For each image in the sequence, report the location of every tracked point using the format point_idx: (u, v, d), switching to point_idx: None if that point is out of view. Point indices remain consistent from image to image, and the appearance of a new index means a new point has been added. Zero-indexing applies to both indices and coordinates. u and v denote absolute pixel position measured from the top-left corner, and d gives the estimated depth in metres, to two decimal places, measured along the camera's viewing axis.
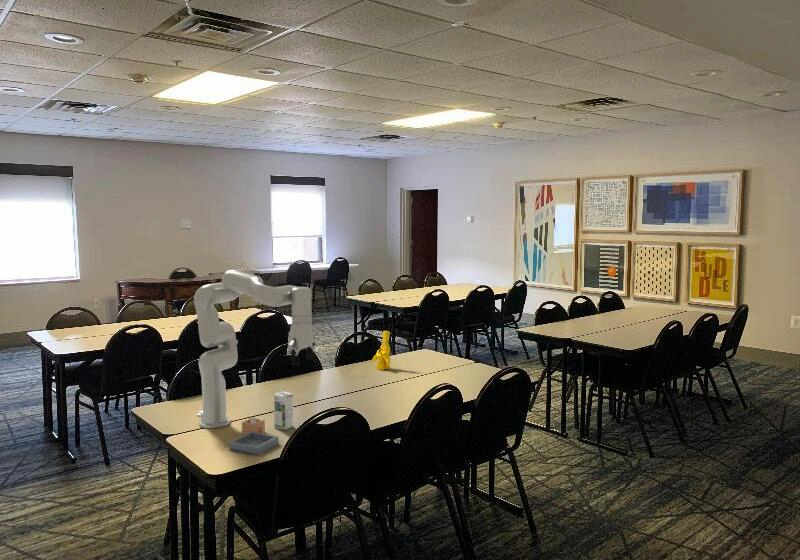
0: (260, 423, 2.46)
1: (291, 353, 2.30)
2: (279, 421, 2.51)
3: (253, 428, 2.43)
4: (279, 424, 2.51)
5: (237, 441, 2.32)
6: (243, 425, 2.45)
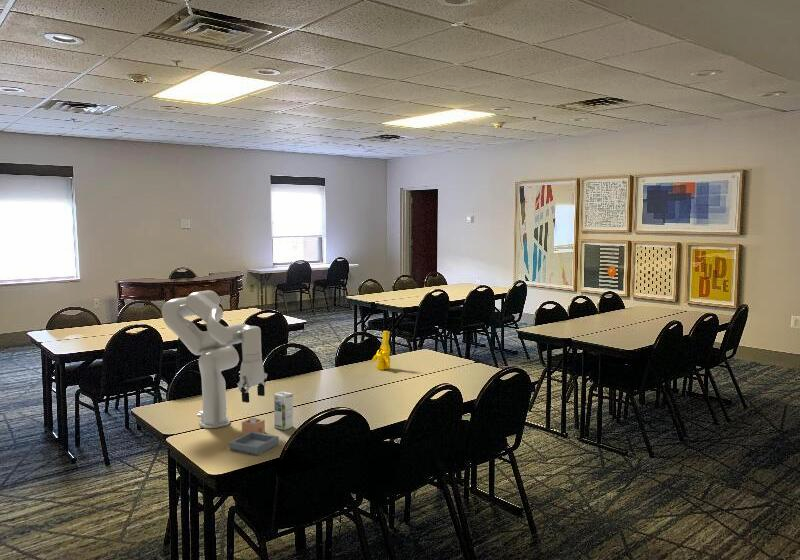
0: (260, 423, 2.46)
1: (241, 391, 2.39)
2: (279, 421, 2.51)
3: (253, 428, 2.43)
4: (279, 424, 2.51)
5: (237, 441, 2.32)
6: (243, 425, 2.45)
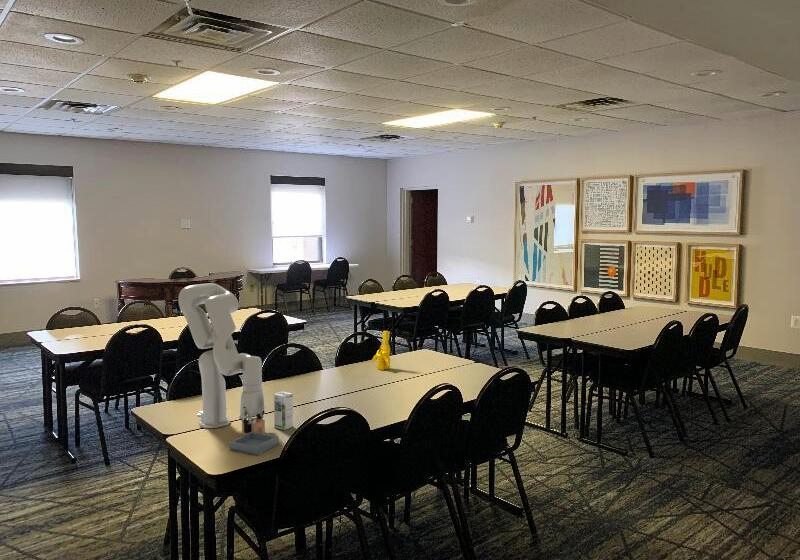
0: (260, 423, 2.46)
1: (243, 422, 2.42)
2: (279, 421, 2.51)
3: (253, 428, 2.43)
4: (279, 424, 2.51)
5: (237, 441, 2.32)
6: (243, 425, 2.45)
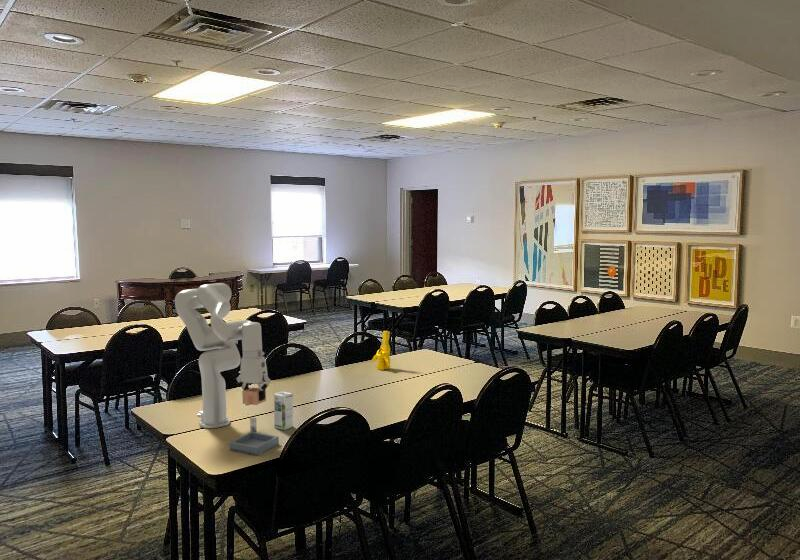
0: (250, 393, 2.35)
1: None
2: (279, 421, 2.51)
3: None
4: (279, 424, 2.51)
5: (237, 441, 2.32)
6: None
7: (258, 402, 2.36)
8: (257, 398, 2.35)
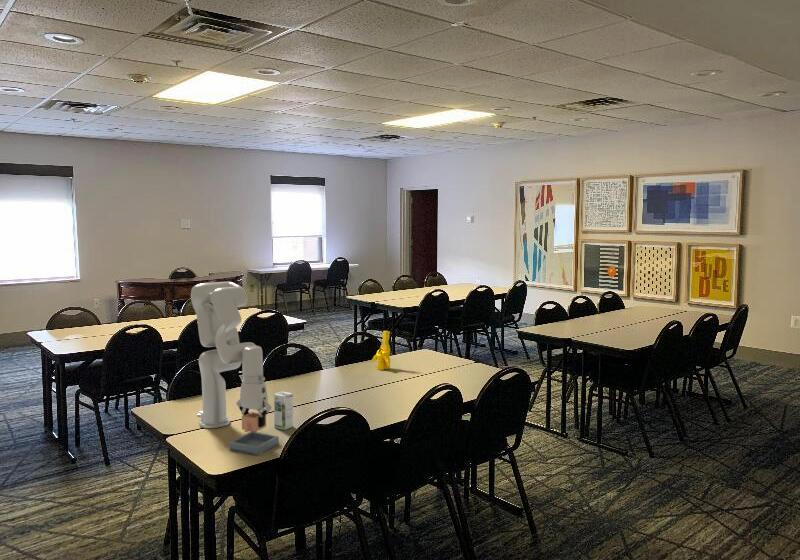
0: (249, 419, 2.28)
1: None
2: (279, 421, 2.51)
3: None
4: (279, 424, 2.51)
5: (237, 441, 2.32)
6: None
7: (258, 428, 2.28)
8: (257, 424, 2.28)
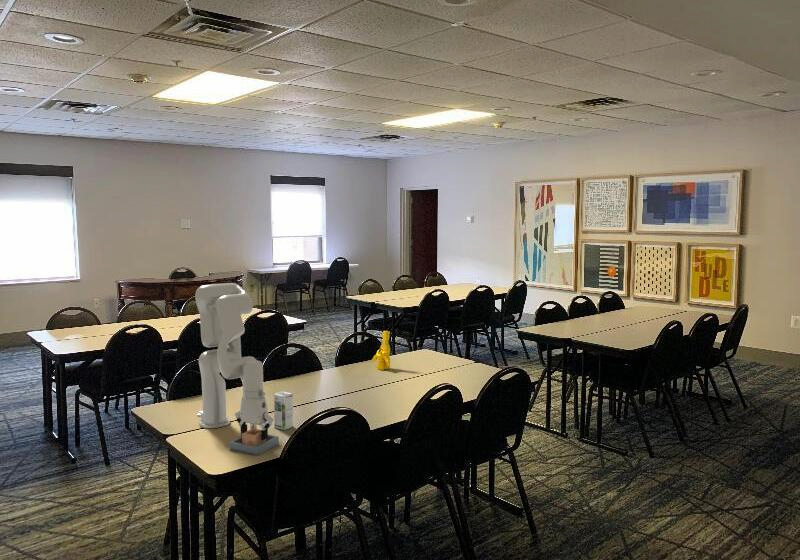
0: (249, 436, 2.29)
1: None
2: (279, 421, 2.51)
3: None
4: (279, 424, 2.51)
5: (237, 441, 2.32)
6: None
7: None
8: (257, 442, 2.28)
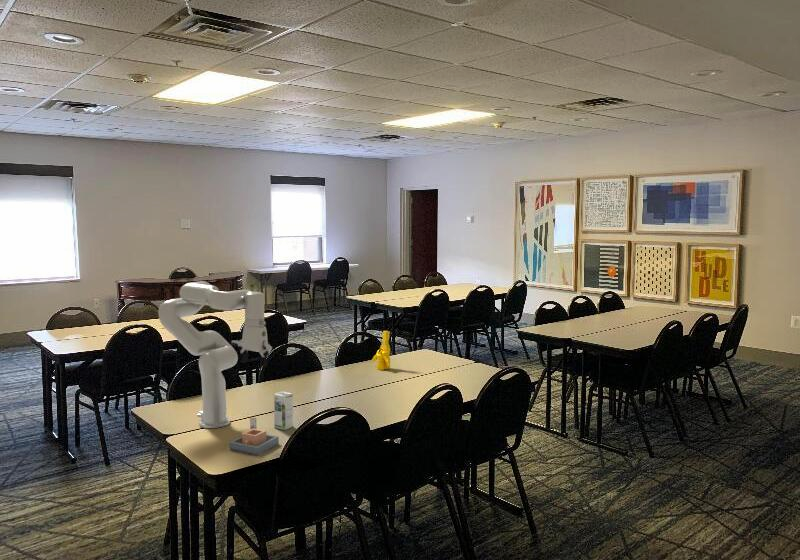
0: (249, 436, 2.29)
1: None
2: (279, 421, 2.51)
3: None
4: (279, 424, 2.51)
5: (237, 441, 2.32)
6: None
7: None
8: (257, 442, 2.28)
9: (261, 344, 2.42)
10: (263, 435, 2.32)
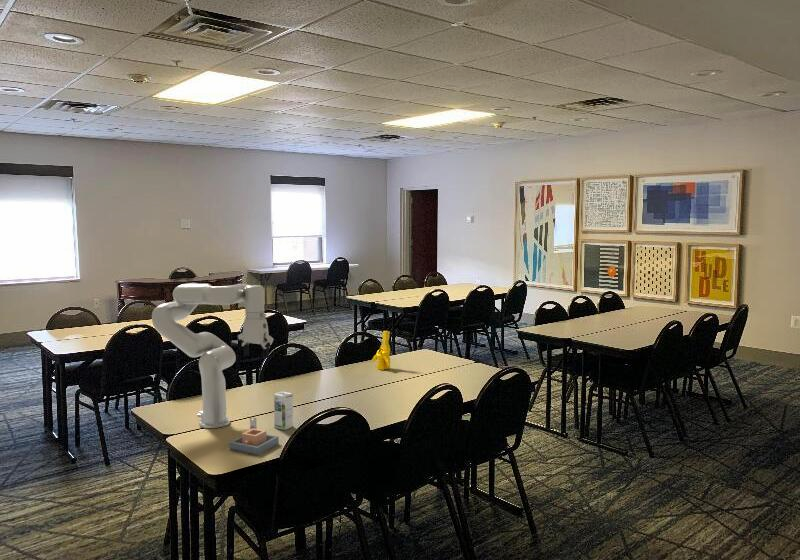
0: (249, 436, 2.29)
1: None
2: (279, 421, 2.51)
3: None
4: (279, 424, 2.51)
5: (237, 441, 2.32)
6: None
7: None
8: (257, 442, 2.28)
9: (262, 336, 2.45)
10: (263, 435, 2.32)
